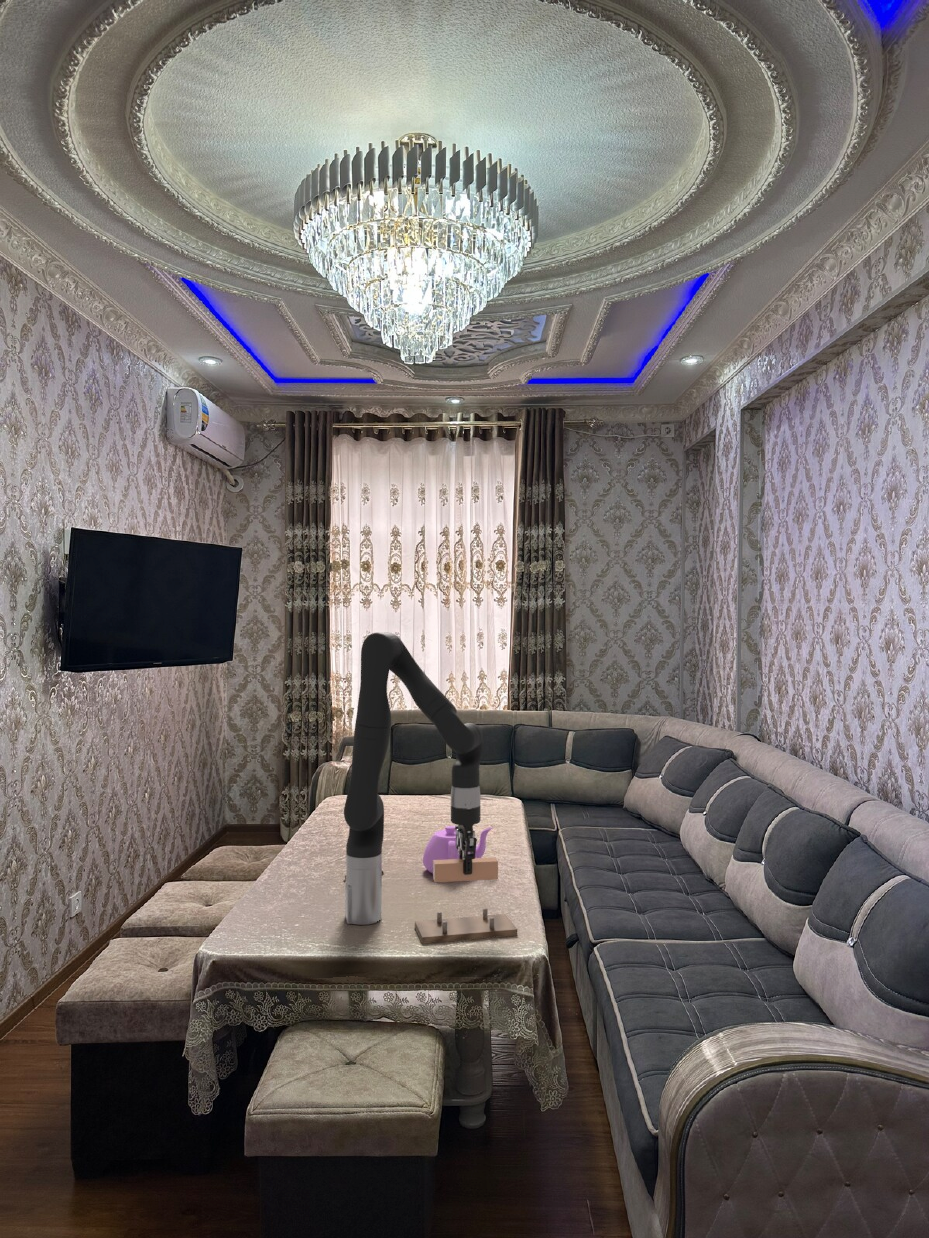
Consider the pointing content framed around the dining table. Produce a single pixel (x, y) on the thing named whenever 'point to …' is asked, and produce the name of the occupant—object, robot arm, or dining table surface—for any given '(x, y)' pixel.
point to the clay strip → (454, 870)
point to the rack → (465, 928)
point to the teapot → (448, 847)
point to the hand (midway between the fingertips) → (465, 871)
